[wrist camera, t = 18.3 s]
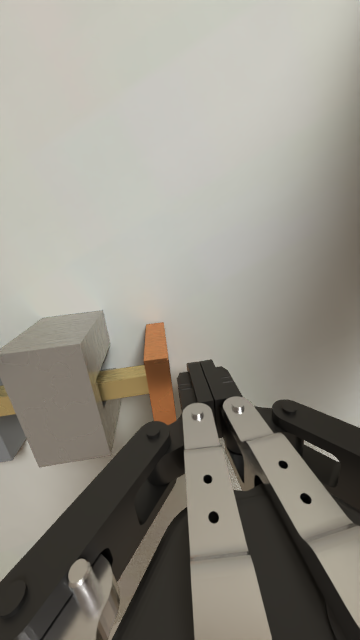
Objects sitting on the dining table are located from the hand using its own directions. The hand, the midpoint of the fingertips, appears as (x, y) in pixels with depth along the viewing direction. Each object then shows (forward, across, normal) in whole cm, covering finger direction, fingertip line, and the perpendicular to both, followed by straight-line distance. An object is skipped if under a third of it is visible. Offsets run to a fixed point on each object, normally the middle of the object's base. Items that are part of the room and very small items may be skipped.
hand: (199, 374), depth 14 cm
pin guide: (+4, +8, 0) cm, 8 cm away
